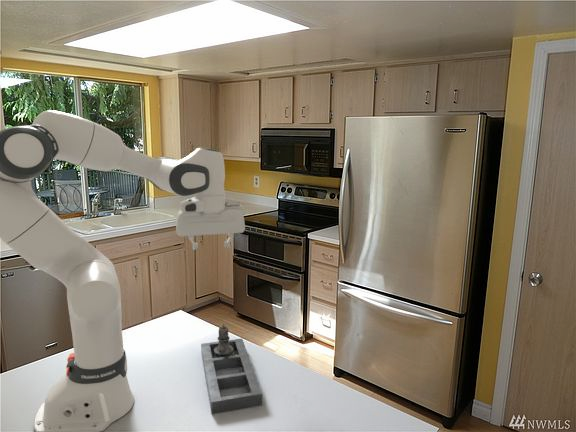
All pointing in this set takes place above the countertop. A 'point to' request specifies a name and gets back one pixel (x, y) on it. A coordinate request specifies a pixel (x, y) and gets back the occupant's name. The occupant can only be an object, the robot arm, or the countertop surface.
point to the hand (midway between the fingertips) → (211, 248)
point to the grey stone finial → (223, 343)
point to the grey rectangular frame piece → (230, 378)
